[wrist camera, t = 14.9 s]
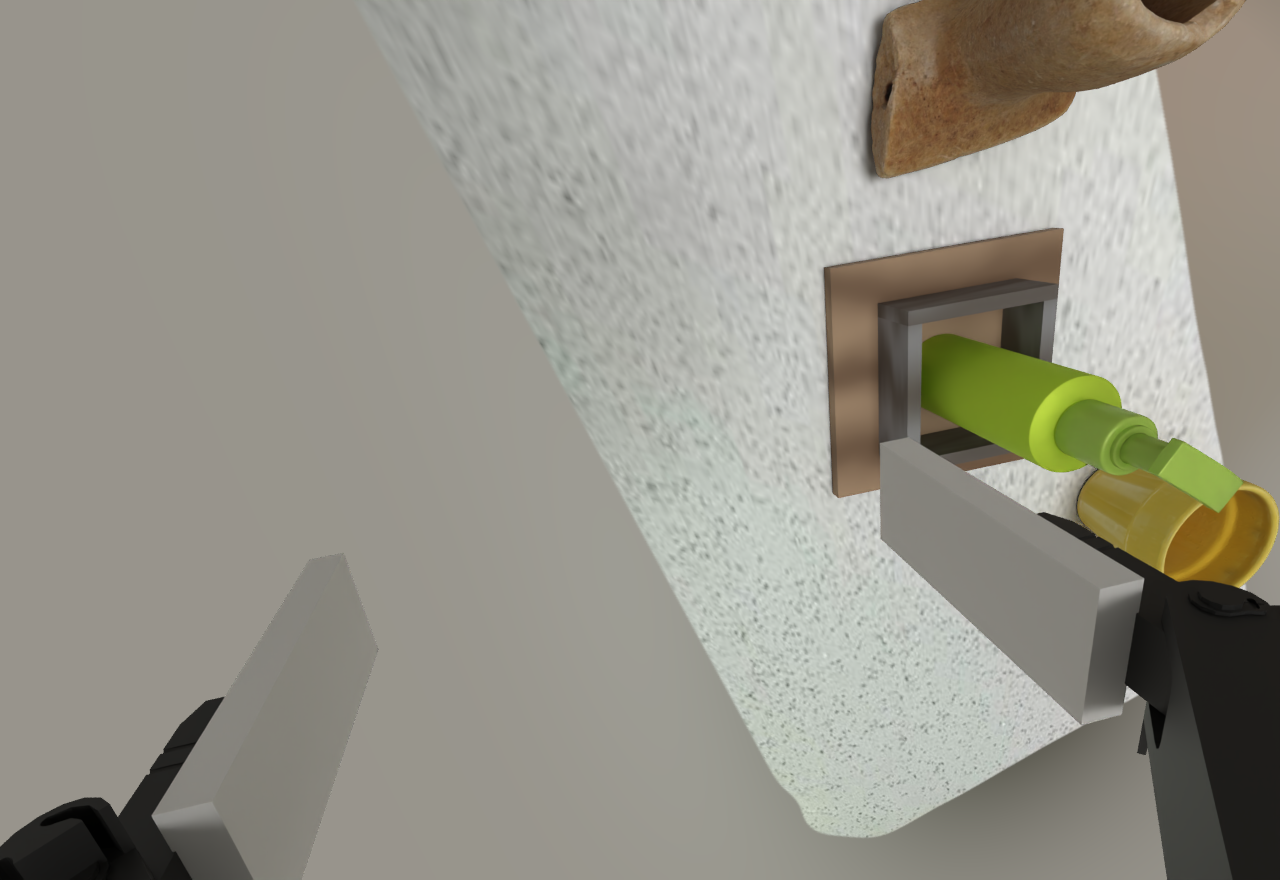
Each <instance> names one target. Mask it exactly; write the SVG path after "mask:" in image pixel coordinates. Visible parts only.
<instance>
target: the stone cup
mask: <svg viewBox="0 0 1280 880" xmlns="http://www.w3.org/2000/svg"><path fill="white" fill-rule="evenodd" d="M1245 1H1246V0H922V1H919V2H917V3H913V4H908V5H905V6H902V7H899V8H897V9H895V10H894V11H892V12H890V13H888V14H887V16H886V17H885V19H884V23H883V27H882V33H883V34H882V39H881V44H880V47H879V51H878V55H877V58H876V64H877V66H876V71H875V76H874V87H873V93H872V98H873V111H872V122H871V134H872V140H873V144H872V151H873V156H874V161H875V167H876V173H877V174H878V176H879V177H880V178H891V177H895V176H899V175H902V174H906V173H910V172H914V171H918V170H922V169H925V168H929V167H932V166H935V165H938V164H941V163H944V162H948V161H951V160H954V159H956V158H958V157H960V156H965V155H969V154H972V153H975V152H978V151H982V150H985V149H988V148H991V147H993V146H996V145H999V144H1002V143H1005V142H1008V141H1010V140H1013V139H1016V138H1018V137H1021V136H1023V135H1026V134H1028V133H1031V132H1033V131H1036V130H1038V129H1040V128H1042V127H1044V126H1046V125H1048V124H1049V123H1051V122H1052V121H1054V120H1056V119H1057V118H1059V117H1060V116H1061V115H1063V114H1064V113H1065V112H1066V111H1067V110H1068V108H1069V106H1070V105H1071V103H1072V101H1073V99H1074V97H1075V94H1076V92H1079V91H1085V90H1092V89H1098V88H1102V87H1105V86H1108V85H1112V84H1115V83H1118V82H1121V81H1124V80H1127V79H1130V78H1133V77H1136V76H1139V75H1141V74H1144V73H1146V72H1149V71H1152V70H1154V69H1157V68H1159V67H1162V66H1165V65H1167V64H1169V63H1172V62H1174V61H1176V60H1178V59H1180V58H1182V57H1184V56H1185V55H1187V54H1188V53H1190V52H1192V51H1194V50H1195V49H1197V48H1198V47H1199V46H1201V45H1202V44H1203V43H1205V42H1206V41H1207V40H1209V39H1210V38H1211V37H1213V36H1214V35H1215V34H1216V33H1218V32H1219V31H1220V30H1221V29H1222V28H1224V27H1225V26H1226V25H1227V23H1228V22H1229V21H1230V20H1231V19H1232V17H1233V16H1234V15H1235V14H1236V13H1237V12H1238V11H1239V10H1240V8H1241V7H1242V5H1243V4H1244V2H1245Z"/></svg>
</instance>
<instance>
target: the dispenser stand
mask: <svg viewBox="0 0 1280 880" xmlns="http://www.w3.org/2000/svg"><path fill="white" fill-rule="evenodd" d="M1063 231H1064V229H1063V228H1051V229H1045V230H1039V231H1034V232H1028V233H1022V234H1016V235H1010V236H1005V237H999V238H993V239H987V240H981V241H976V242H970V243H964V244H958V245H952V246H947V247H941V248H935V249H929V250H923V251H918V252H912V253H906V254H900V255H894V256H889V257H883V258H877V259H871V260H865V261H860V262H854V263H848V264H842V265H836V266H831V267H825V268H824V277H825V303H826V329H827V355H828V381H829V406H830V432H831V458H832V484H833V494H835V495H836V496H837V497H838V498H841V497H846V496H851V495H855V494H860V493H865V492H869V491H874V490H879V489H880V443H883V442H888V441H893V440H898V439H903V438H908V437H909V438H910V439H912V440H914V441H915V442H917V443H919V444H920V445H922V446H924V447H925V448H927V449H929V450H930V451H932V452H934V453H935V454H937V455H939V456H940V457H942V458H944V459H945V460H947V461H949V462H950V463H952V464H954V465H955V466H957V467H959V468H960V469H962V470H964V471H968V470H973V469H977V468H982V467H987V466H992V465H996V464H1001V463H1006V462H1010V461H1015V460H1020V459H1024V458H1022V457H1020V456H1018V455H1016V454H1014V453H1012V452H1010V451H1008V450H1006V449H1004V448H1002V447H1000V446H998V445H996V444H994V443H992V442H990V441H988V440H986V439H984V438H982V437H980V436H978V435H976V434H974V433H972V432H970V431H968V430H966V429H964V428H962V427H960V426H958V425H956V424H954V423H952V422H950V421H948V420H946V419H944V418H942V417H940V416H938V415H936V414H934V413H932V412H930V411H928V410H926V409H924V408H922V407H921V367H922V343H923V342H924V341H926V340H927V339H929V338H931V337H933V336H936V335H940V334H954V335H958V336H961V337H965V338H968V339H972V340H975V341H979V342H982V343H985V344H989V345H992V346H996V347H999V348H1003V349H1006V350H1009V351H1013V352H1016V353H1020V354H1023V355H1027V356H1030V357H1033V358H1037V359H1040V360H1044V361H1047V362H1051V363H1052V353H1053V342H1054V331H1055V320H1056V309H1057V298H1058V287H1059V275H1060V264H1061V253H1062V242H1063Z"/></svg>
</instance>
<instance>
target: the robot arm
mask: <svg viewBox="0 0 1280 880" xmlns="http://www.w3.org/2000/svg"><path fill="white" fill-rule="evenodd" d="M880 516H881V539H882V540H883V541H884V542H885V543H886V544H887V545H888V546H889V547H890V548H891V549H892V550H894V551H895V552H896V553H897V554H898V555H899V556H900V557H901V558H902V559H903V560H904V561H905V562H906V563H908V564H909V565H910V566H911V567H912V568H913V569H914V570H915V571H916V572H917V573H918V574H919V575H920V576H922V577H923V578H924V579H925V580H926V581H927V582H928V583H929V584H930V585H931V586H932V587H933V588H934V589H936V590H937V591H938V592H939V593H940V594H941V595H942V596H943V597H944V598H945V599H946V600H947V601H948V602H949V603H951V604H952V605H953V606H954V607H955V608H956V609H957V610H958V611H959V612H960V613H961V614H962V615H963V616H965V617H966V618H967V619H968V620H969V621H970V622H971V623H972V624H973V625H974V626H975V627H976V628H977V629H979V630H980V631H981V632H982V633H983V634H984V635H985V636H986V637H987V638H988V639H989V640H990V641H991V642H992V643H994V644H995V645H996V646H997V647H998V648H999V649H1000V650H1001V651H1002V652H1003V653H1004V654H1005V655H1006V656H1008V657H1009V658H1010V659H1011V660H1012V661H1013V662H1014V663H1015V664H1016V665H1017V666H1018V667H1019V668H1020V669H1022V670H1023V671H1024V672H1025V673H1026V674H1027V675H1028V676H1029V677H1030V678H1031V679H1032V680H1033V681H1034V682H1035V683H1037V684H1038V685H1039V686H1040V687H1041V688H1042V689H1043V690H1044V691H1045V692H1046V693H1047V694H1048V695H1049V696H1051V697H1052V698H1053V699H1054V700H1055V701H1056V702H1057V703H1058V704H1059V705H1060V706H1061V707H1062V708H1063V709H1065V710H1066V711H1067V712H1068V713H1069V714H1070V715H1071V716H1072V717H1073V718H1074V719H1075V720H1076V721H1077V722H1079V723H1080V724H1081V725H1084V724H1088V723H1091V722H1095V721H1099V720H1103V719H1106V718H1110V717H1114V716H1118V715H1122V710H1123V704H1124V698H1125V692H1126V686H1128V687H1129V688H1131V689H1132V690H1133V691H1134V692H1136V693H1137V694H1138V695H1139V696H1141V697H1142V698H1143V699H1144V700H1146V701H1147V703H1146V709H1145V714H1144V719H1143V724H1142V731H1141V735H1140V741H1139V746H1138V752H1137V753H1139V754H1143V755H1146V752H1147V748H1148V752H1149V758H1150V765H1151V773H1152V779H1153V786H1154V793H1155V800H1156V807H1157V813H1158V820H1159V826H1160V833H1161V840H1162V847H1163V854H1164V861H1165V868H1166V874H1167V880H1280V606H1275V605H1274V606H1270V605H1269V604H1268V603H1267V602H1266V601H1264V600H1262V599H1261V598H1259V597H1257V596H1256V595H1254V594H1253V593H1251V592H1248V591H1245V590H1243V589H1240V588H1237V587H1235V586H1232V585H1228V584H1223V583H1218V582H1214V581H1203V580H1188V581H1181V582H1178V581H1176V580H1174V579H1173V578H1171V577H1169V576H1167V575H1166V574H1164V573H1162V572H1160V571H1159V570H1157V569H1155V568H1153V567H1152V566H1150V565H1148V564H1146V563H1145V562H1143V561H1141V560H1139V559H1138V558H1136V557H1134V556H1132V555H1131V554H1129V553H1127V552H1125V551H1124V550H1122V549H1120V548H1118V547H1117V548H1114V546H1113V544H1111V543H1110V542H1108V541H1106V540H1104V539H1103V538H1101V537H1096V536H1095V534H1094V533H1092V532H1090V531H1089V530H1087V529H1085V528H1083V527H1082V526H1080V525H1078V524H1076V523H1075V522H1073V521H1070V520H1067V519H1064V518H1061V517H1058V516H1055V515H1051V514H1048V513H1045V512H1043V513H1038V514H1036V513H1034V512H1032V511H1031V510H1029V509H1027V508H1026V507H1024V506H1022V505H1021V504H1019V503H1017V502H1016V501H1014V500H1012V499H1011V498H1009V497H1007V496H1006V495H1004V494H1002V493H1001V492H999V491H997V490H996V489H994V488H992V487H991V486H989V485H987V484H986V483H984V482H982V481H980V480H979V479H977V478H975V477H974V476H972V475H970V474H969V473H967V472H965V471H964V470H962V469H960V468H959V467H957V466H955V465H954V464H952V463H950V462H949V461H947V460H945V459H944V458H942V457H940V456H939V455H937V454H935V453H934V452H932V451H930V450H929V449H927V448H925V447H924V446H922V445H920V444H919V443H917V442H915V441H914V440H912V439H910V438H909V437H908V438H903V439H898V440H893V441H888V442H883V443H880ZM377 652H378V647H377V644H376V641H375V639H374V636H373V633H372V630H371V627H370V624H369V622H368V619H367V616H366V613H365V611H364V608H363V605H362V602H361V599H360V597H359V594H358V591H357V588H356V585H355V583H354V580H353V577H352V574H351V571H350V569H349V566H348V563H347V560H346V558H345V555H344V553H340V554H335V555H330V556H326V557H321V558H316V559H311V560H309V561H308V563H307V564H306V566H305V568H304V570H303V571H302V573H301V574H300V576H299V578H298V579H297V581H296V582H295V584H294V586H293V587H292V589H291V590H290V592H289V594H288V595H287V597H286V599H285V600H284V602H283V604H282V605H281V607H280V608H279V610H278V612H277V613H276V615H275V616H274V618H273V620H272V621H271V623H270V624H269V626H268V628H267V630H266V631H265V633H264V634H263V636H262V638H261V639H260V641H259V642H258V644H257V646H256V647H255V649H254V650H253V652H252V654H251V655H250V657H249V659H248V660H247V662H246V663H245V665H244V667H243V668H242V670H241V671H240V673H239V675H238V676H237V678H236V680H235V681H234V683H233V685H232V686H231V688H230V689H229V691H228V693H227V695H226V696H225V697H221V698H217V699H212V700H208V701H205V702H204V703H203V704H202V705H201V706H200V707H199V708H198V709H197V710H195V711H194V712H193V714H191V715H190V716H189V717H188V718H187V719H186V720H185V721H184V722H182V723H181V724H180V726H179V727H178V729H177V730H176V731H175V733H174V734H173V736H172V737H171V739H170V741H169V742H168V743H167V745H166V746H165V748H164V753H163V754H160V755H159V757H158V758H157V760H156V761H155V763H154V764H153V766H152V767H151V769H150V774H149V775H146V776H145V778H144V779H143V781H142V782H141V784H140V785H139V787H138V788H137V790H136V791H135V792H134V794H133V795H132V797H131V798H130V800H129V801H128V803H127V804H126V806H125V807H124V809H123V810H122V812H121V813H120V815H119V816H118V817H117V815H116V814H115V812H114V811H113V809H112V807H111V806H110V804H109V803H108V802H106V801H105V800H103V799H102V798H82V799H79V800H75V801H72V802H69V803H66V804H63V805H61V806H59V807H57V808H55V809H53V810H51V811H49V812H47V813H45V814H43V815H41V816H39V817H37V818H36V819H35V820H33V821H32V822H30V823H29V824H27V825H26V826H24V827H23V828H22V829H20V830H19V831H17V832H16V833H15V834H13V835H12V836H11V837H10V838H9V839H8V840H7V841H6V842H5V843H4V844H3V845H2V846H1V847H0V880H302V877H303V874H304V871H305V868H306V865H307V862H308V859H309V856H310V853H311V850H312V847H313V844H314V841H315V838H316V835H317V832H318V829H319V826H320V823H321V820H322V817H323V814H324V811H325V808H326V805H327V802H328V799H329V796H330V793H331V790H332V787H333V784H334V781H335V778H336V775H337V772H338V769H339V766H340V763H341V760H342V757H343V754H344V751H345V748H346V745H347V742H348V739H349V736H350V733H351V730H352V727H353V724H354V721H355V718H356V715H357V712H358V709H359V706H360V703H361V700H362V697H363V694H364V691H365V688H366V685H367V682H368V679H369V676H370V673H371V670H372V667H373V664H374V661H375V658H376V655H377Z"/></svg>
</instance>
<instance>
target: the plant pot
mask: <svg viewBox="0 0 1280 880" xmlns="http://www.w3.org/2000/svg"><path fill="white" fill-rule="evenodd" d="M1242 481H1243V484H1242V485H1241V486H1240V488H1239V489H1238V490H1237V491H1236V493H1235V494H1234V495H1233V496H1232V498H1231V499H1230V500H1229V501H1228V503H1227V504H1226V505H1225V506H1224V507H1223V509H1222V510H1221V511H1220V512H1219V513H1218V512H1216V511H1214V510H1212V509H1209V508H1208V507H1206V506H1204V505H1203V504H1201V503H1200V502H1198V501H1197V500H1195V499H1194V498H1192V497H1190V496H1189V495H1187V494H1185V493H1184V492H1182V491H1180V490H1179V489H1177V488H1175V487H1174V486H1172V485H1170V484H1169V483H1167V482H1165V481H1164V480H1162V479H1160V478H1159V477H1157V476H1155V475H1153V474H1151V473H1148V472H1146V471H1144V470H1141V469H1138V470H1136V471H1134V472H1132V473H1129V474H1126V475H1120V476H1118V475H1112V474H1109V473H1106V472H1104V471H1102V470H1100V469H1099V470H1097V471H1096V472H1095V473H1094V474H1093V475H1092V476H1091V477H1090V478H1089V479H1088V480H1087V482H1086V483H1085V485H1084V486H1083V488H1082V490H1081V492H1080V495H1079V498H1078V503H1077V511H1078V515H1079V517H1080V519H1081V521H1082V522H1083V523H1084V524H1085V525H1086V526H1087V527H1088V528H1089V529H1091V530H1092V531H1093V532H1094V533H1095V534H1096V535H1097V536H1099V537H1101V538H1103V539H1104V540H1106V541H1108V542H1110V543H1111V544H1113V546H1114V548H1117V547H1118V548H1120V549H1122V550H1124V551H1125V552H1127V553H1129V554H1131V555H1132V556H1134V557H1136V558H1138V559H1139V560H1141V561H1143V562H1145V563H1146V564H1148V565H1150V566H1152V567H1153V568H1155V569H1157V570H1159V571H1160V572H1162V573H1164V574H1166V575H1167V576H1169V577H1171V578H1173V579H1174V580H1176V581H1178V582H1181V581H1188V580H1203V581H1214V582H1218V583H1223V584H1228V585H1232V586H1235V587H1237V588H1240V587H1241V586H1242V585H1244V584H1245V583H1246V582H1247V581H1248V580H1249V579H1250V578H1251V577H1252V576H1253V575H1254V574H1255V573H1256V572H1257V570H1258V569H1259V568H1260V567H1261V565H1262V564H1263V563H1264V561H1265V560H1266V558H1267V556H1268V555H1269V553H1270V551H1271V549H1272V547H1273V544H1274V542H1275V539H1276V536H1277V532H1278V526H1279V512H1278V507H1277V505H1276V503H1275V500H1274V499H1273V497H1272V496H1271V495H1270V494H1269V493H1268V492H1267V491H1266V490H1264V489H1263V488H1261V487H1259V486H1257V485H1254V484H1252V483H1249V482H1247V481H1244V480H1242Z"/></svg>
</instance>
